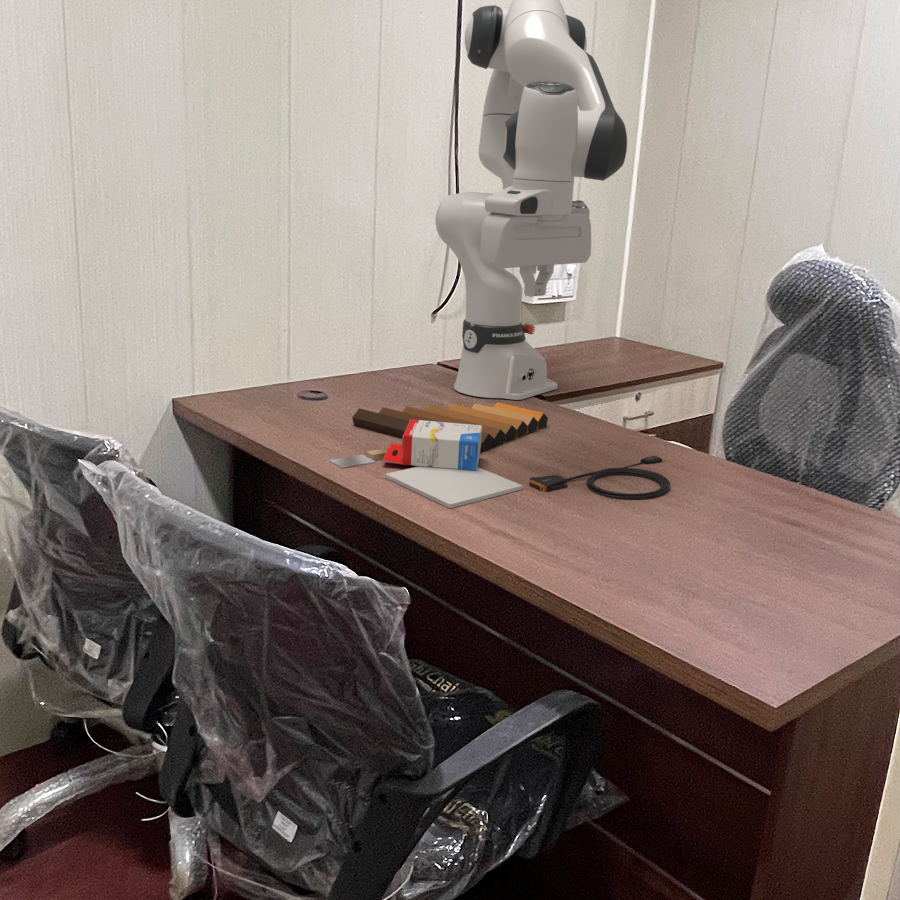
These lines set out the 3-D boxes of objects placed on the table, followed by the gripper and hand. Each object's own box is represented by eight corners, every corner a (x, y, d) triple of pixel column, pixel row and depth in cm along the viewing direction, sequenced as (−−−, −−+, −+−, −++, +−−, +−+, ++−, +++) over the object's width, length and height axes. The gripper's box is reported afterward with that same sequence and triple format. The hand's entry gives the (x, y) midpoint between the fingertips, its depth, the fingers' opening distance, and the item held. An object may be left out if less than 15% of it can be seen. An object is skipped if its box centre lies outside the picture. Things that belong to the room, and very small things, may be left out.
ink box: (479, 441, 144) (382, 433, 145) (477, 472, 146) (381, 463, 147) (482, 424, 152) (391, 416, 153) (480, 453, 154) (390, 445, 155)
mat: (455, 461, 152) (456, 458, 151) (522, 489, 141) (522, 485, 141) (384, 477, 143) (384, 473, 143) (450, 508, 132) (450, 504, 132)
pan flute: (352, 428, 168) (469, 460, 154) (352, 410, 167) (470, 440, 153) (436, 402, 187) (547, 428, 174) (437, 385, 186) (548, 410, 173)
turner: (409, 448, 157) (409, 441, 157) (423, 455, 154) (423, 448, 154) (329, 462, 149) (329, 455, 148) (342, 469, 146) (342, 462, 145)
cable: (721, 485, 148) (722, 476, 148) (587, 517, 133) (588, 507, 132) (656, 460, 159) (657, 452, 159) (525, 487, 143) (526, 477, 143)
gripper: (574, 198, 148) (566, 288, 152) (476, 199, 135) (470, 297, 139) (605, 201, 144) (596, 294, 148) (507, 202, 131) (500, 303, 135)
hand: (534, 295), depth 144 cm, fingers closed
